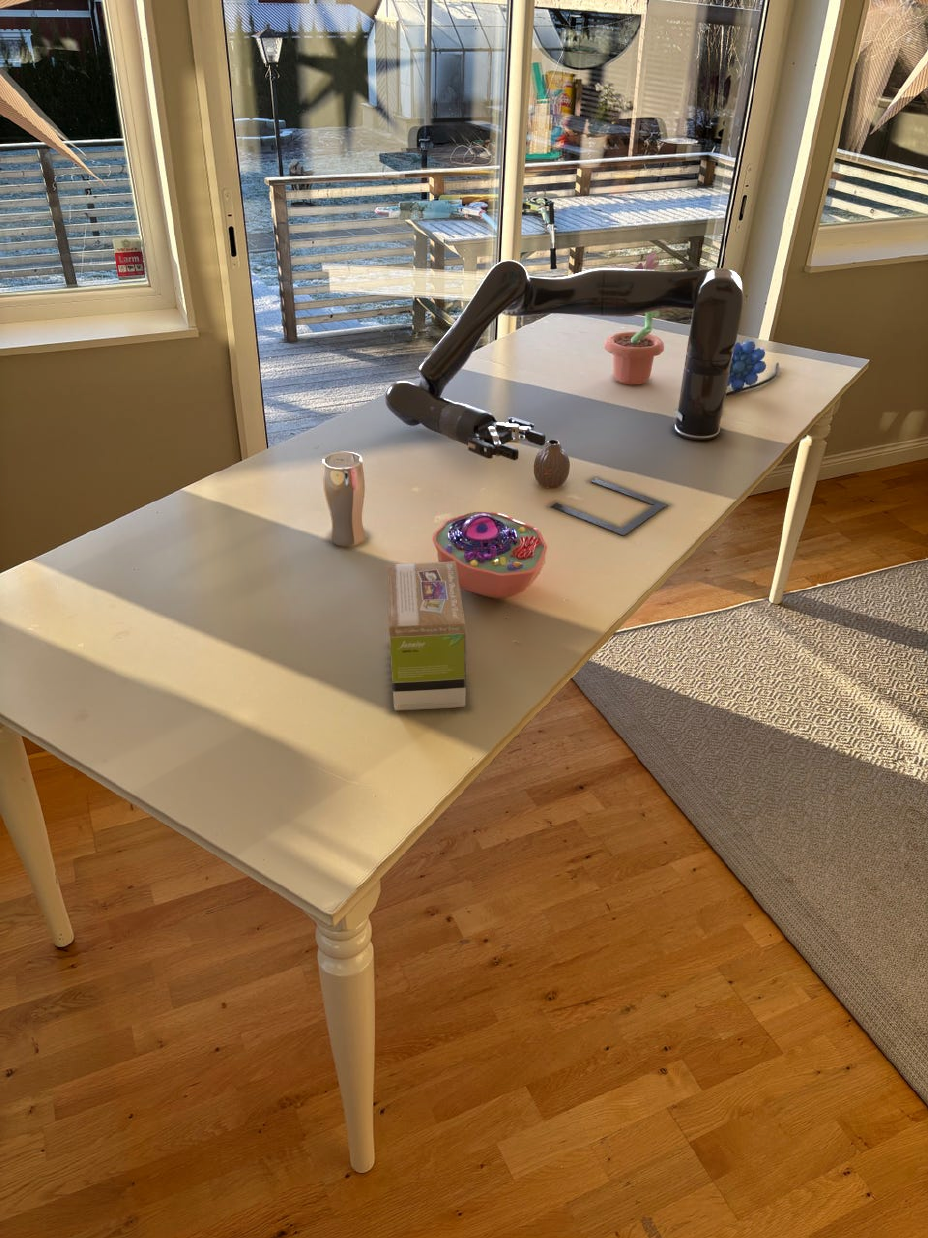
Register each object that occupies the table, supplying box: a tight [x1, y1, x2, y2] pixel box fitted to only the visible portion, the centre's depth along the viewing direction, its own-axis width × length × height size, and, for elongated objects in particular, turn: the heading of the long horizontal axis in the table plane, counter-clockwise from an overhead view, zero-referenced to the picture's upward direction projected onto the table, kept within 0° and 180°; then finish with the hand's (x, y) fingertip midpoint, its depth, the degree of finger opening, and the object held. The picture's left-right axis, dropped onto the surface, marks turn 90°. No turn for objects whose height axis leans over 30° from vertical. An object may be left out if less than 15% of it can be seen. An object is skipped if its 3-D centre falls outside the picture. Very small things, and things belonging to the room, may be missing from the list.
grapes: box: [727, 340, 767, 391], centre depth 215 cm, size 12×7×12 cm, turn 65°
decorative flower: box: [604, 249, 665, 385], centre depth 215 cm, size 15×14×30 cm
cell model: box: [432, 511, 548, 600], centre depth 147 cm, size 17×20×11 cm
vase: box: [533, 438, 571, 489], centre depth 177 cm, size 7×7×9 cm
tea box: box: [387, 561, 466, 712], centre depth 127 cm, size 15×10×15 cm, turn 5°
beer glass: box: [322, 451, 366, 548], centre depth 158 cm, size 7×7×15 cm
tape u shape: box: [550, 477, 669, 537], centre depth 172 cm, size 15×16×1 cm
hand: (531, 447), depth 178 cm, fingers open, 8 cm apart
